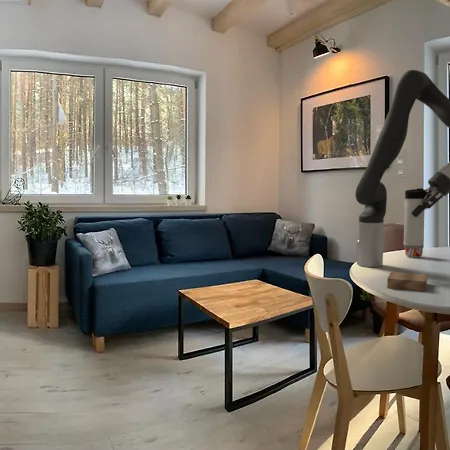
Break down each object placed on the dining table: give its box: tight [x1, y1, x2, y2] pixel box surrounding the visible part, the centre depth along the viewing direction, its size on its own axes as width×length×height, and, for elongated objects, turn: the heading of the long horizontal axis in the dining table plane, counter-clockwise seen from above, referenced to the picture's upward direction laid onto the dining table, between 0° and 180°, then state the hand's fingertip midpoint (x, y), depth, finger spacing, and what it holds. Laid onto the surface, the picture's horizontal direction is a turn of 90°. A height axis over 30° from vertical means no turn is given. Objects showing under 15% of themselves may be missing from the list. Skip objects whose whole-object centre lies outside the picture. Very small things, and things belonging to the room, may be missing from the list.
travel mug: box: [403, 187, 426, 249], centre depth 154 cm, size 6×7×20 cm
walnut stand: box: [386, 271, 428, 292], centre depth 146 cm, size 11×11×3 cm
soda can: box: [404, 247, 424, 259], centre depth 199 cm, size 7×7×12 cm
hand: (409, 214), depth 154 cm, fingers closed on travel mug, 6 cm apart
